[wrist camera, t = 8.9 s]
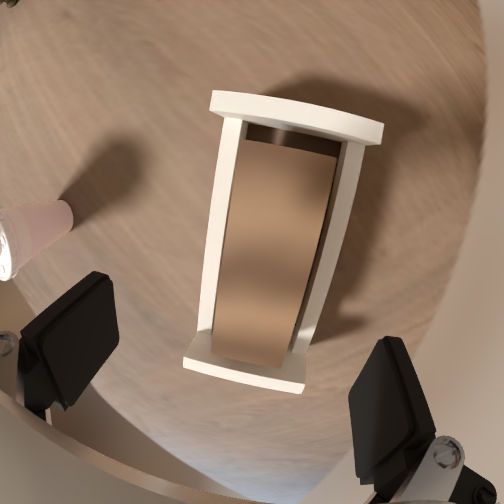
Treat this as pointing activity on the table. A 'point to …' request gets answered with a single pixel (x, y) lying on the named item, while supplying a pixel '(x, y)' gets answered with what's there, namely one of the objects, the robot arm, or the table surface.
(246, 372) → the frame
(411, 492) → the robot arm
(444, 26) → the table surface
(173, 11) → the table surface
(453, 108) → the table surface
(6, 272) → the smoothie
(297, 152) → the plank
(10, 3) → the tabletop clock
